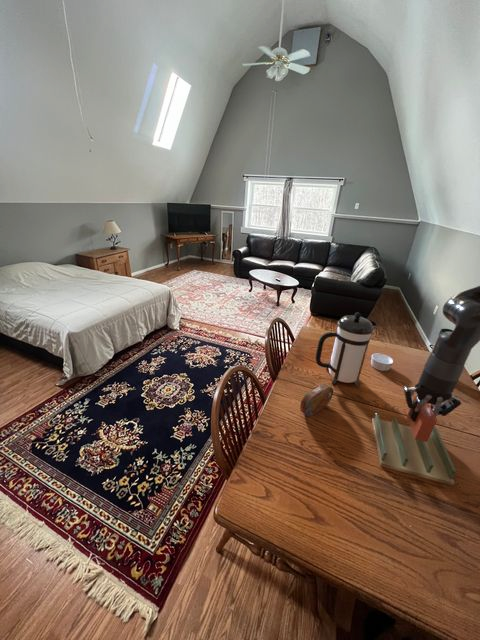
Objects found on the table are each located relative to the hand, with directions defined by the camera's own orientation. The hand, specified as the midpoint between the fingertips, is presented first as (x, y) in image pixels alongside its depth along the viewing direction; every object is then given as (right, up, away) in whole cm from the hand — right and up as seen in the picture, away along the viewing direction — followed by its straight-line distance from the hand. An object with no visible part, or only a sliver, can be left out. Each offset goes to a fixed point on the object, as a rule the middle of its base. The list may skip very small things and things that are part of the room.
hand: (419, 420), depth 77 cm
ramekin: (+12, +7, +45) cm, 48 cm away
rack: (0, -11, +5) cm, 12 cm away
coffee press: (-10, +4, +36) cm, 37 cm away
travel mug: (+35, +5, +43) cm, 56 cm away
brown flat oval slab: (-25, -3, +19) cm, 31 cm away
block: (0, -3, +1) cm, 3 cm away
